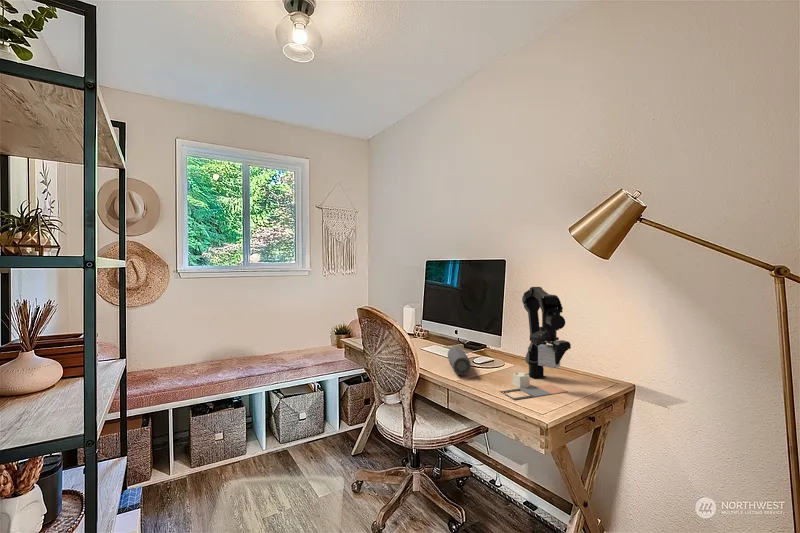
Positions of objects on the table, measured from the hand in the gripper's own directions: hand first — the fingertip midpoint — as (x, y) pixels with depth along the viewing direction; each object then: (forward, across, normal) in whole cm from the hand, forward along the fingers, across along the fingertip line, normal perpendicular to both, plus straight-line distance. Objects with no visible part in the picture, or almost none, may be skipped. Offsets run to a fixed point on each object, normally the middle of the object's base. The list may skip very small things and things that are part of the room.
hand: (549, 361), depth 161 cm
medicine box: (+2, 0, 0) cm, 2 cm away
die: (+12, -8, -8) cm, 17 cm away
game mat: (+12, 0, -8) cm, 14 cm away
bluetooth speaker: (+12, -38, -22) cm, 46 cm away
